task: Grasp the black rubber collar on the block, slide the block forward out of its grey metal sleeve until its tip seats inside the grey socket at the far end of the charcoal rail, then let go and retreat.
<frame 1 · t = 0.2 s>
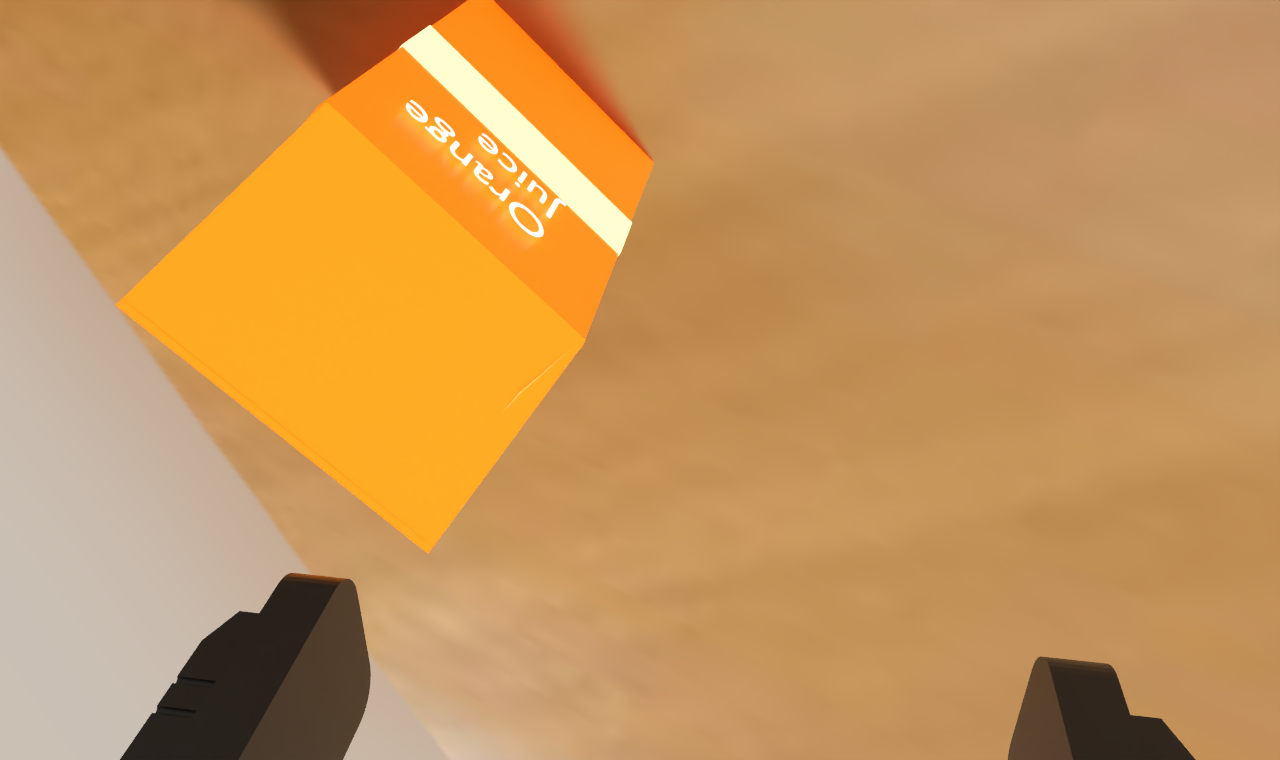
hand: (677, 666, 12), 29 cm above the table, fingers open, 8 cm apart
orange juice: (508, 143, 40), on the table
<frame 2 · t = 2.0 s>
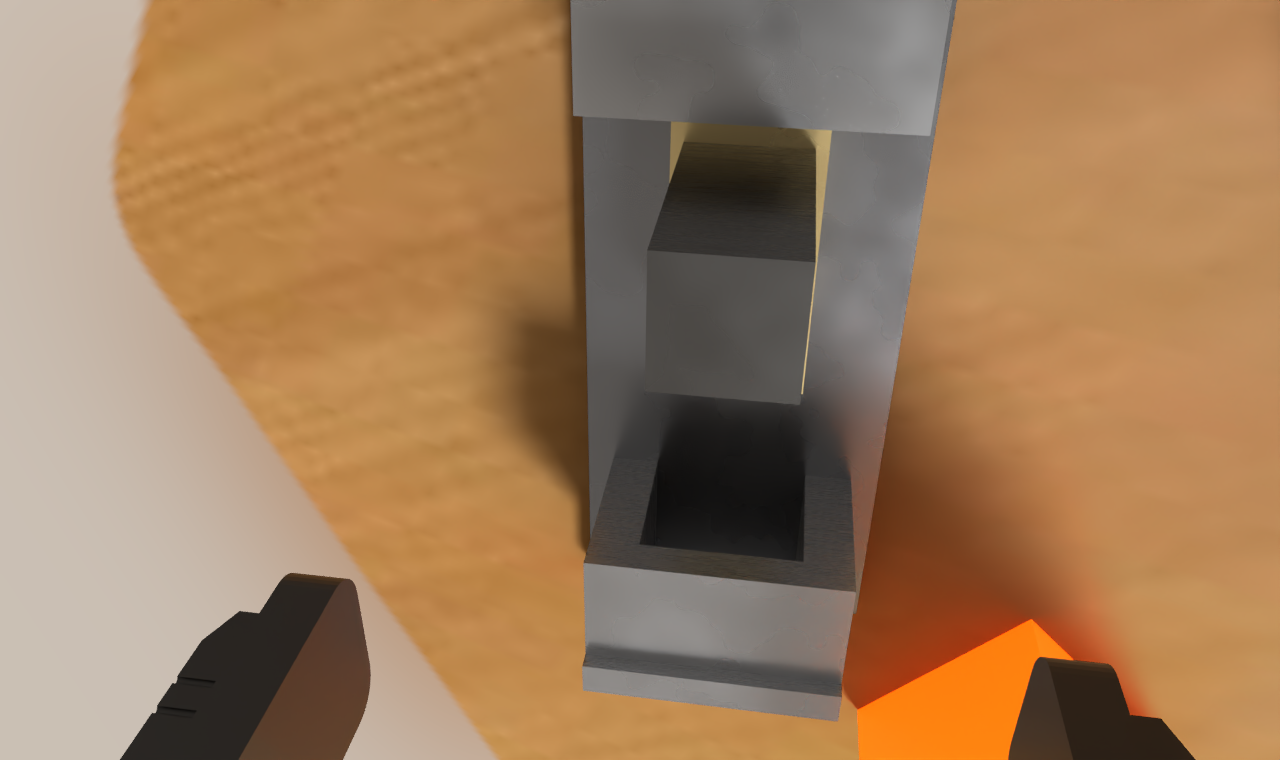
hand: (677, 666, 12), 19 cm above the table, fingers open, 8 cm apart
rail: (747, 249, 30), on the table
block: (750, 99, 21), point 6 cm above the table, slide at 0.0 cm
orange juice: (1014, 729, 38), on the table
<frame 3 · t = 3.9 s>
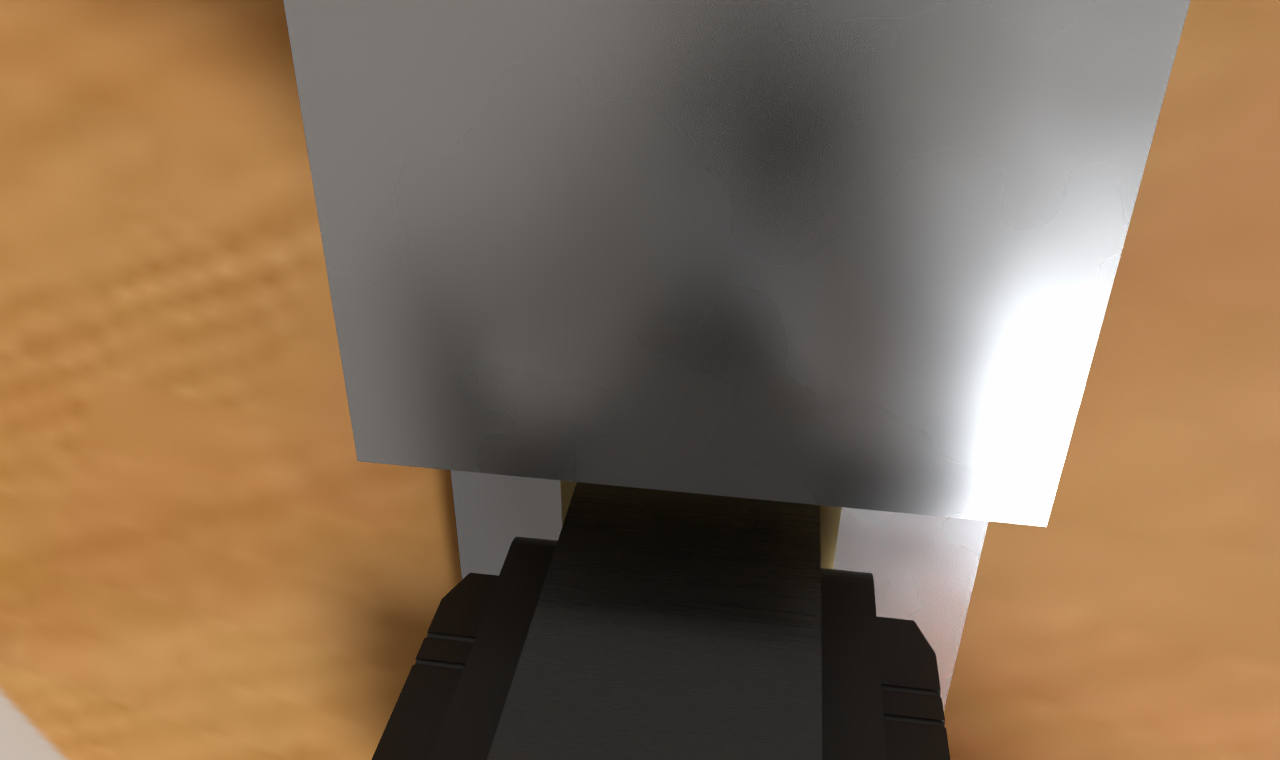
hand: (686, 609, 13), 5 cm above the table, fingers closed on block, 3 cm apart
rail: (711, 533, 19), on the table
block: (692, 444, 11), point 6 cm above the table, slide at 0.0 cm, touching gripper
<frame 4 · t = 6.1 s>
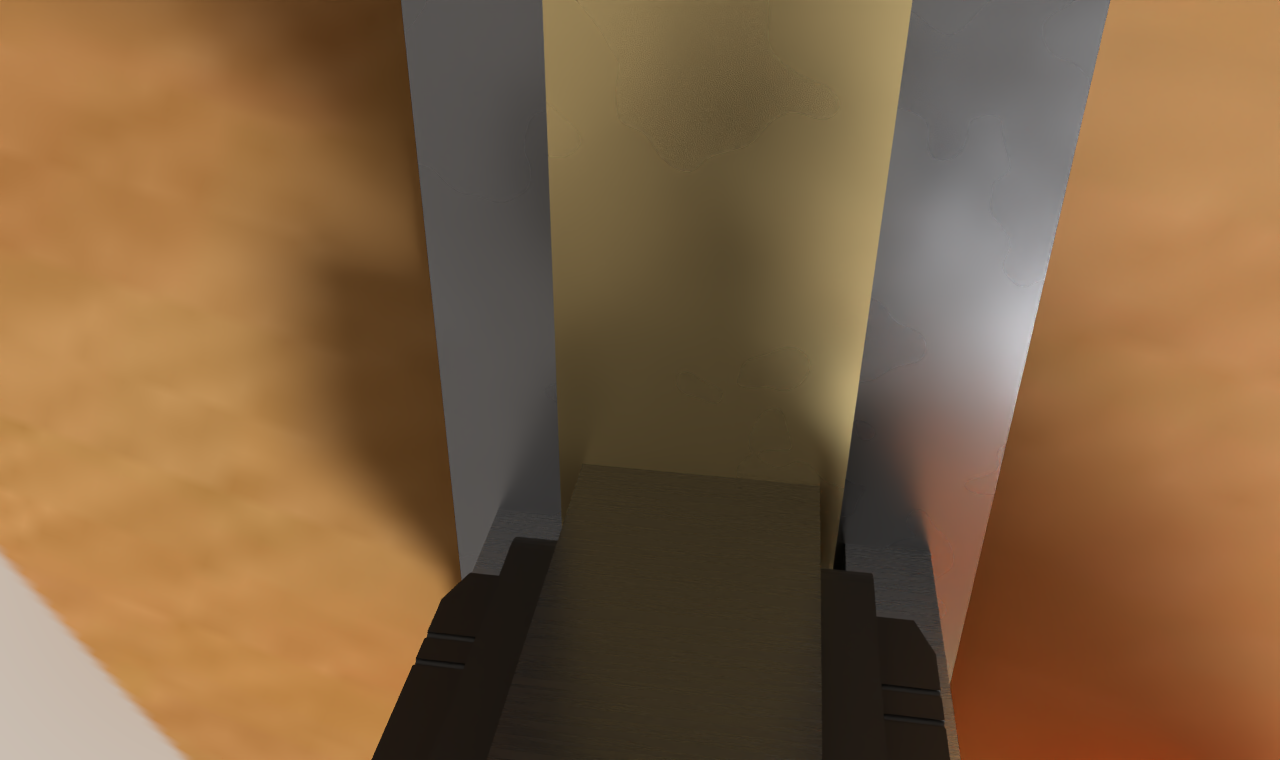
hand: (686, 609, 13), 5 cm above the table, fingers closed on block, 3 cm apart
rail: (736, 107, 15), on the table
block: (692, 443, 11), point 6 cm above the table, slide at 7.9 cm, touching gripper
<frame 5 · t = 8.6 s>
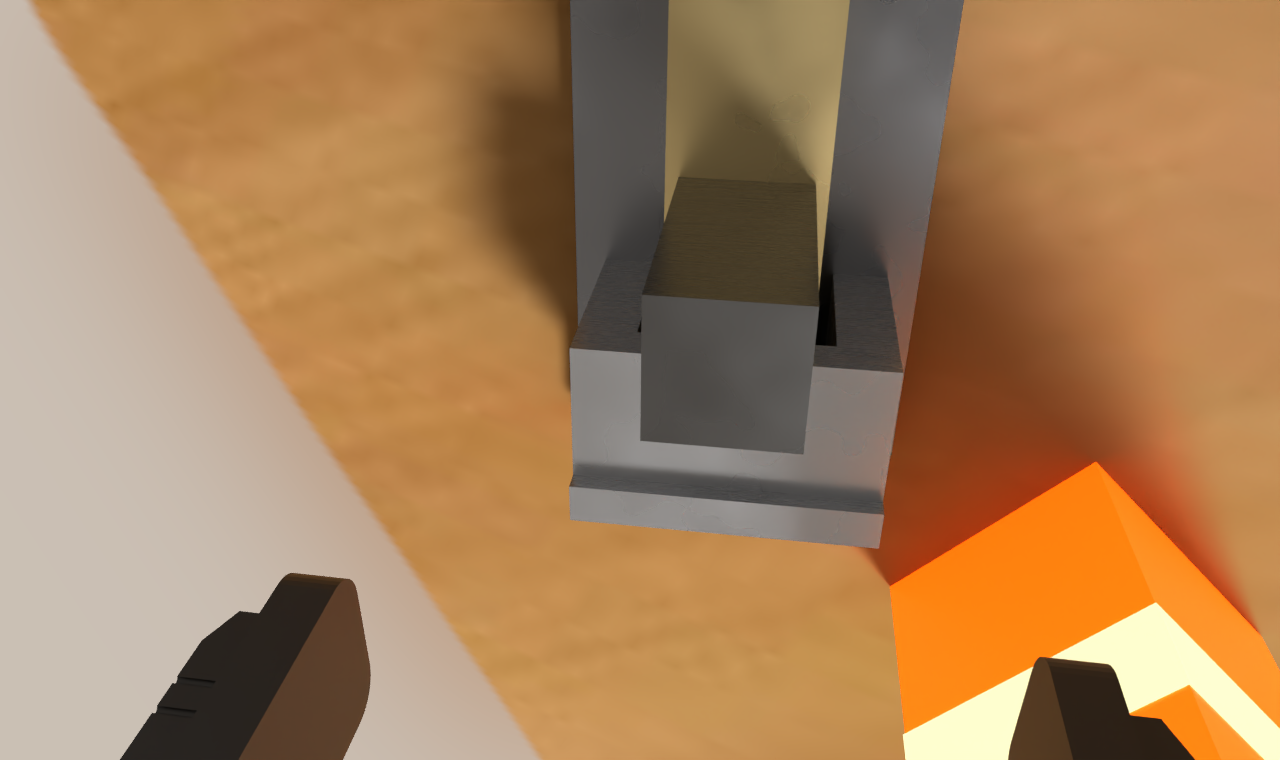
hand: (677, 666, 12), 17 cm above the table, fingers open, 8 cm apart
block: (747, 133, 21), point 6 cm above the table, slide at 7.9 cm
orange juice: (1072, 606, 33), on the table
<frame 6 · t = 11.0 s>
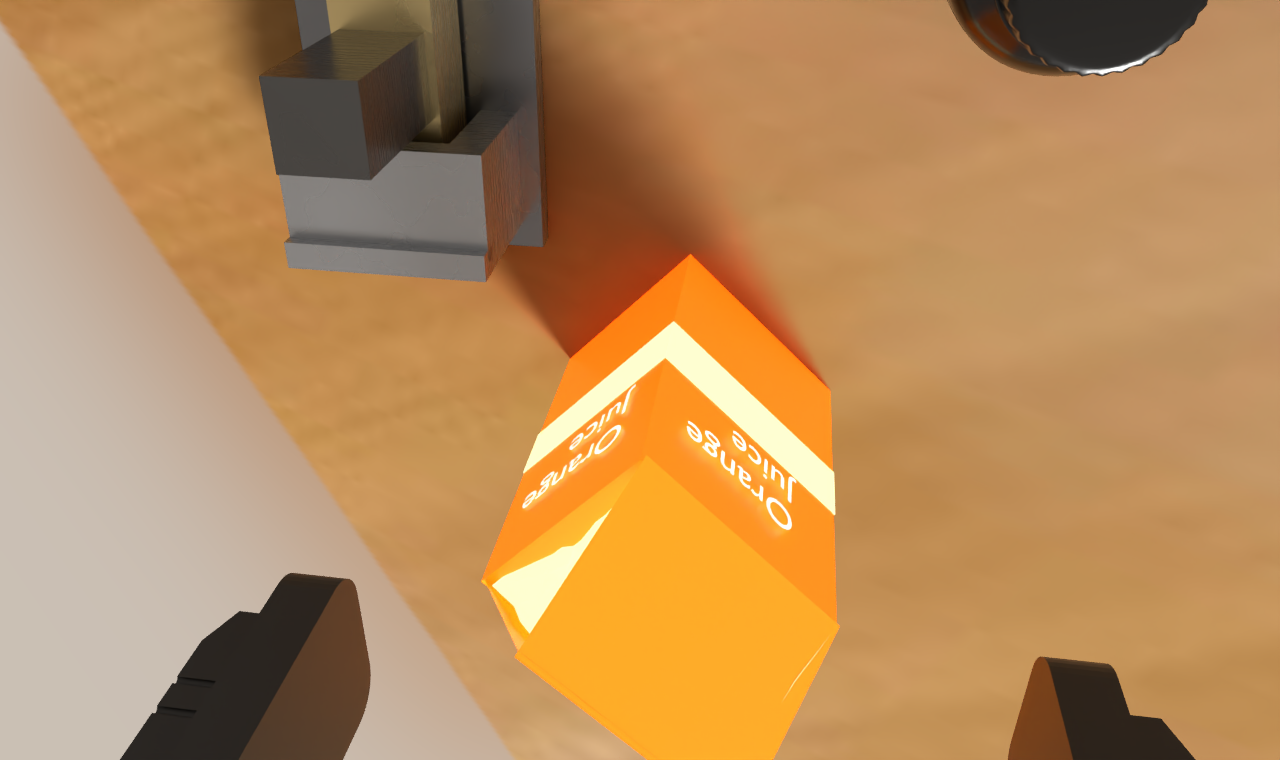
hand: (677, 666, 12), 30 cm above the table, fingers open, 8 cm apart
orange juice: (699, 371, 46), on the table
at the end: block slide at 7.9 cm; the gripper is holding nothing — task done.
